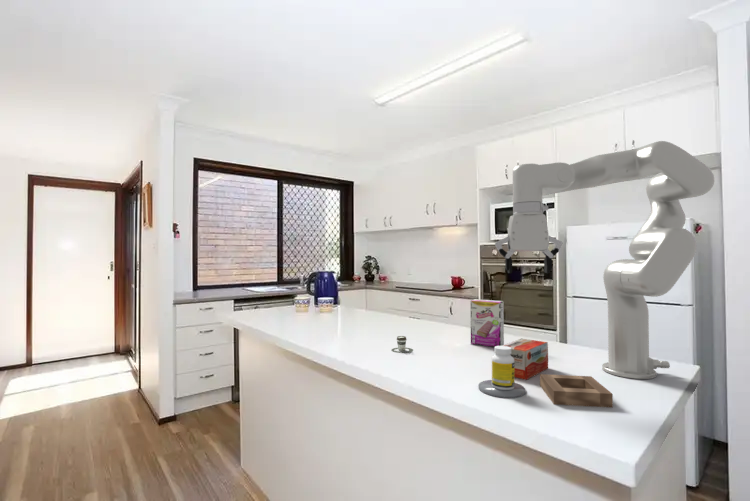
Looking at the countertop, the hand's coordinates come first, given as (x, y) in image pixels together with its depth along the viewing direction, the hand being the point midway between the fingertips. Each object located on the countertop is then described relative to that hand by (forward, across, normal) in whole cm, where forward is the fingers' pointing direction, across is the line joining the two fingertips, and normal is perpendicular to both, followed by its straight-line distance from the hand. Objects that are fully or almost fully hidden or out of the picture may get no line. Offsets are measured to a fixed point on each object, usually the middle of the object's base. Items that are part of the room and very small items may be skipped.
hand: (528, 273), depth 104 cm
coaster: (+28, +9, +11) cm, 32 cm away
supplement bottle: (+28, +9, +11) cm, 31 cm away
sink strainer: (+29, +38, -25) cm, 53 cm away
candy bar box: (+28, +7, -36) cm, 46 cm away
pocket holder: (+28, -7, +13) cm, 32 cm away
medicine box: (+29, 0, -5) cm, 29 cm away
